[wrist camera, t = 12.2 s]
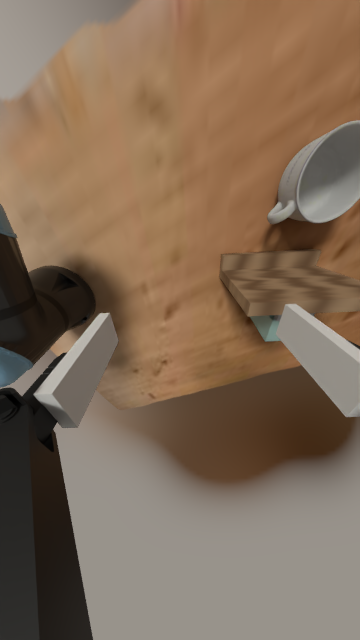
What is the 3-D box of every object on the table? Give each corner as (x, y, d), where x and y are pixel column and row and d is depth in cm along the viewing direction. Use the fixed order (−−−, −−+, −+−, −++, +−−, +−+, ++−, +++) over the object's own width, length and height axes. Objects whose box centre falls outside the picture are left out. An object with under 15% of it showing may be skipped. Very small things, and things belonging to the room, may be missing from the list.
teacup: (334, 128, 25) (391, 95, 19) (333, 204, 31) (377, 200, 24) (246, 179, 29) (268, 166, 22) (259, 240, 34) (279, 245, 27)
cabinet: (247, 317, 39) (266, 348, 30) (256, 283, 33) (281, 310, 25) (277, 315, 38) (304, 347, 30) (290, 281, 33) (327, 308, 25)
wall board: (218, 289, 39) (244, 333, 24) (221, 254, 35) (254, 281, 20) (301, 284, 39) (381, 327, 24) (314, 249, 35) (421, 272, 19)
